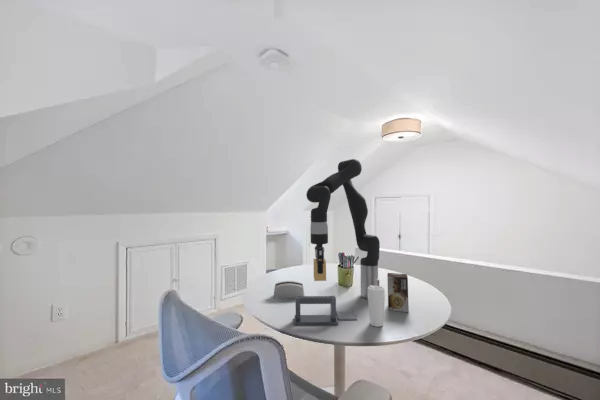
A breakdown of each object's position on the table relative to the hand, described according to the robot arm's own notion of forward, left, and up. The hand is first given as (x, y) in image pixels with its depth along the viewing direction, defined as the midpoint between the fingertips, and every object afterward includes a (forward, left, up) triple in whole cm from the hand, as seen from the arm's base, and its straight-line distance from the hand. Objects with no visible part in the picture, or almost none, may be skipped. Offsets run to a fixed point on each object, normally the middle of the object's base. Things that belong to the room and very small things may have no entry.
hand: (319, 271), depth 111 cm
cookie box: (-38, -12, -21) cm, 45 cm away
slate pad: (-12, -4, -21) cm, 24 cm away
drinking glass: (-23, +4, -21) cm, 31 cm away
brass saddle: (0, 0, -3) cm, 3 cm away
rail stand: (+2, +1, -21) cm, 21 cm away
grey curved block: (+15, -29, -21) cm, 39 cm away
